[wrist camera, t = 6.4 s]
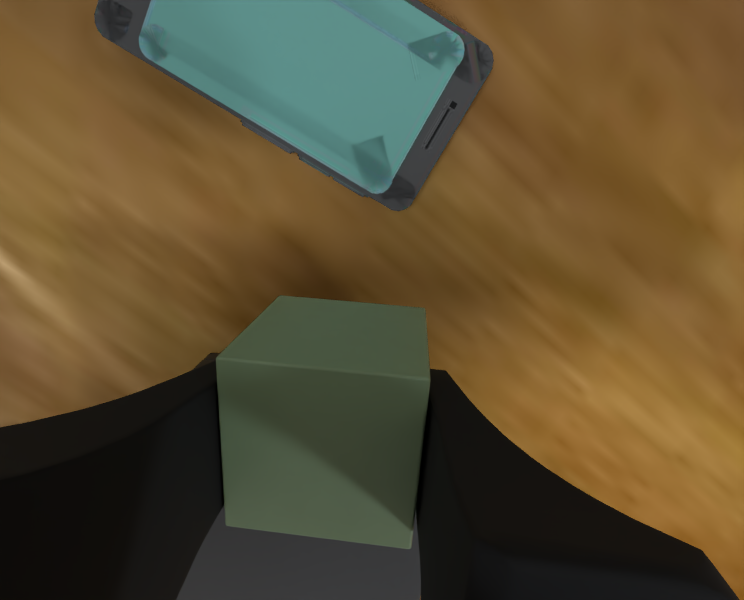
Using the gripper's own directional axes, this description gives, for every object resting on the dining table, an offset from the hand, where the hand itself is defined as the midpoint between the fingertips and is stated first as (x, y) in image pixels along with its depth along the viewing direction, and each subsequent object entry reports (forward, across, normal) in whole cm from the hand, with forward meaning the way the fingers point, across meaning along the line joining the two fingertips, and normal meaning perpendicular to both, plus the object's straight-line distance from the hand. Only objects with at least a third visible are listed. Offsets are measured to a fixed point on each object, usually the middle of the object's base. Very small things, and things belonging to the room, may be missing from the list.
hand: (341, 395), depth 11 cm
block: (+1, 0, 0) cm, 1 cm away
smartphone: (+11, +4, -10) cm, 15 cm away
